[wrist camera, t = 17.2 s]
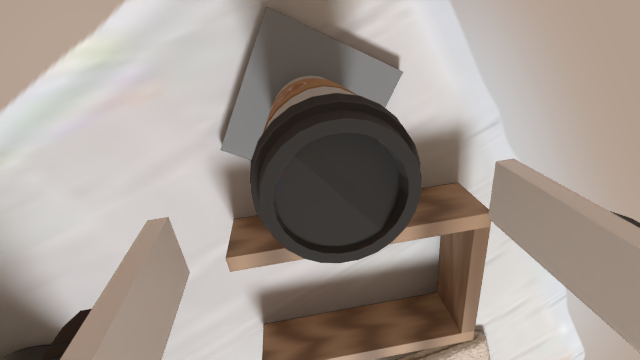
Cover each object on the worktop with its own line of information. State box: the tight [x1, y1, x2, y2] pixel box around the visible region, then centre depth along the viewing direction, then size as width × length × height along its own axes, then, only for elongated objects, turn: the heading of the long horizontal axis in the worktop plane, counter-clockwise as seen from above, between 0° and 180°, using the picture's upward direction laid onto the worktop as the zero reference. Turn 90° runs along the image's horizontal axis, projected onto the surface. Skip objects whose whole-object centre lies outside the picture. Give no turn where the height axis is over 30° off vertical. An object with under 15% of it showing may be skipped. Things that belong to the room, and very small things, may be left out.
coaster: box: [221, 7, 403, 160], centre depth 28 cm, size 12×12×1 cm
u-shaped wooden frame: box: [226, 183, 491, 360], centre depth 34 cm, size 24×17×6 cm
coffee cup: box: [250, 75, 421, 263], centre depth 21 cm, size 8×8×15 cm
